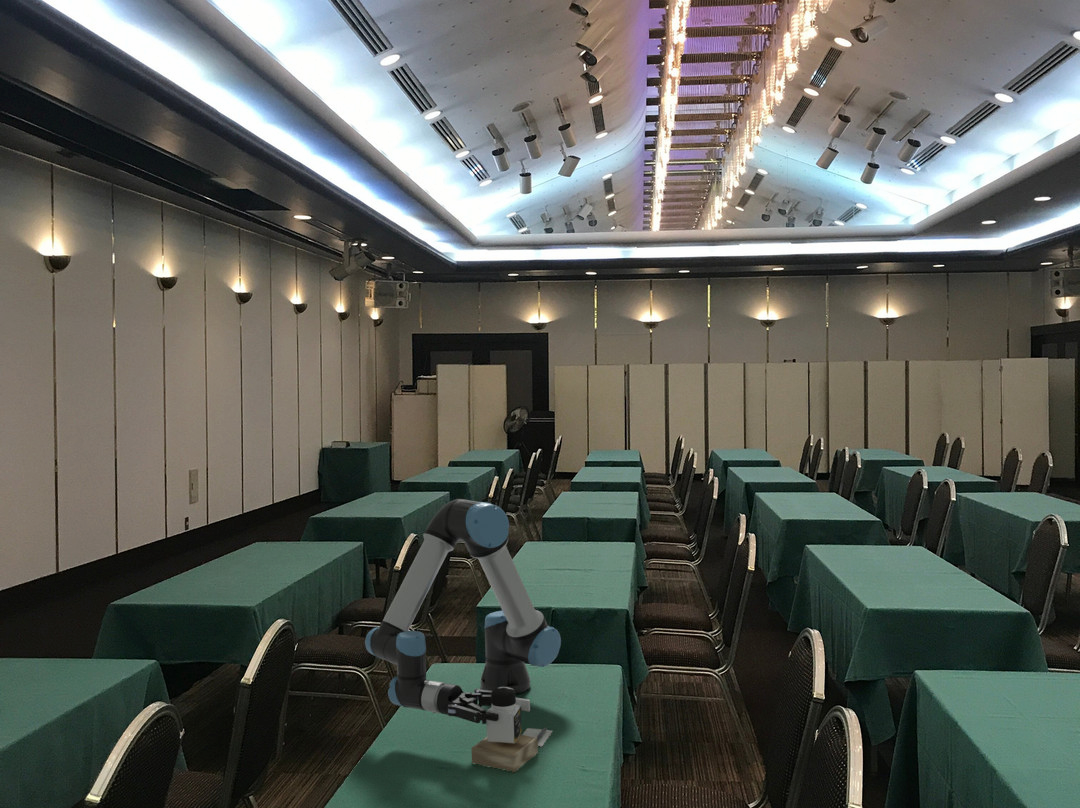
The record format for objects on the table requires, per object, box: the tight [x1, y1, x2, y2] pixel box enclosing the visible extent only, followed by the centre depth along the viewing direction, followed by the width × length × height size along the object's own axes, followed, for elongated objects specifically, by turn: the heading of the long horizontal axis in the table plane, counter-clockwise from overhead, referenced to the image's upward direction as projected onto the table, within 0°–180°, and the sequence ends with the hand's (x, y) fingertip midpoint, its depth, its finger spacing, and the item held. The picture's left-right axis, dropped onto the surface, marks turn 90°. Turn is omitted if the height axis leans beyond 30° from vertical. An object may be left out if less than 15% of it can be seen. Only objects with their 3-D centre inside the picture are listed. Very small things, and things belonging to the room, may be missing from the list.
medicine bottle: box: [486, 687, 522, 743], centre depth 226 cm, size 7×7×12 cm
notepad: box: [522, 726, 554, 748], centre depth 239 cm, size 10×7×2 cm
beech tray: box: [471, 734, 539, 773], centre depth 227 cm, size 12×12×4 cm
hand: (520, 712), depth 224 cm, fingers closed on medicine bottle, 8 cm apart
